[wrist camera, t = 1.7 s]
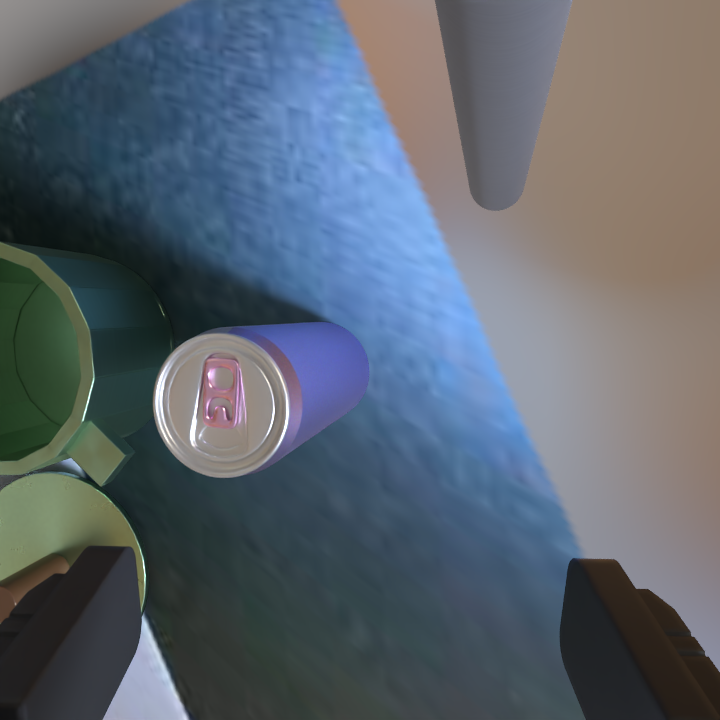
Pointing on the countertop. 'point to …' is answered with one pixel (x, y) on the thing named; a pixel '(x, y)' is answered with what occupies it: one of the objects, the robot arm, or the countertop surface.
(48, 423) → the pot
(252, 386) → the beverage can
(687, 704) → the robot arm
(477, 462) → the countertop surface
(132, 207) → the countertop surface
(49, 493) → the pot lid
